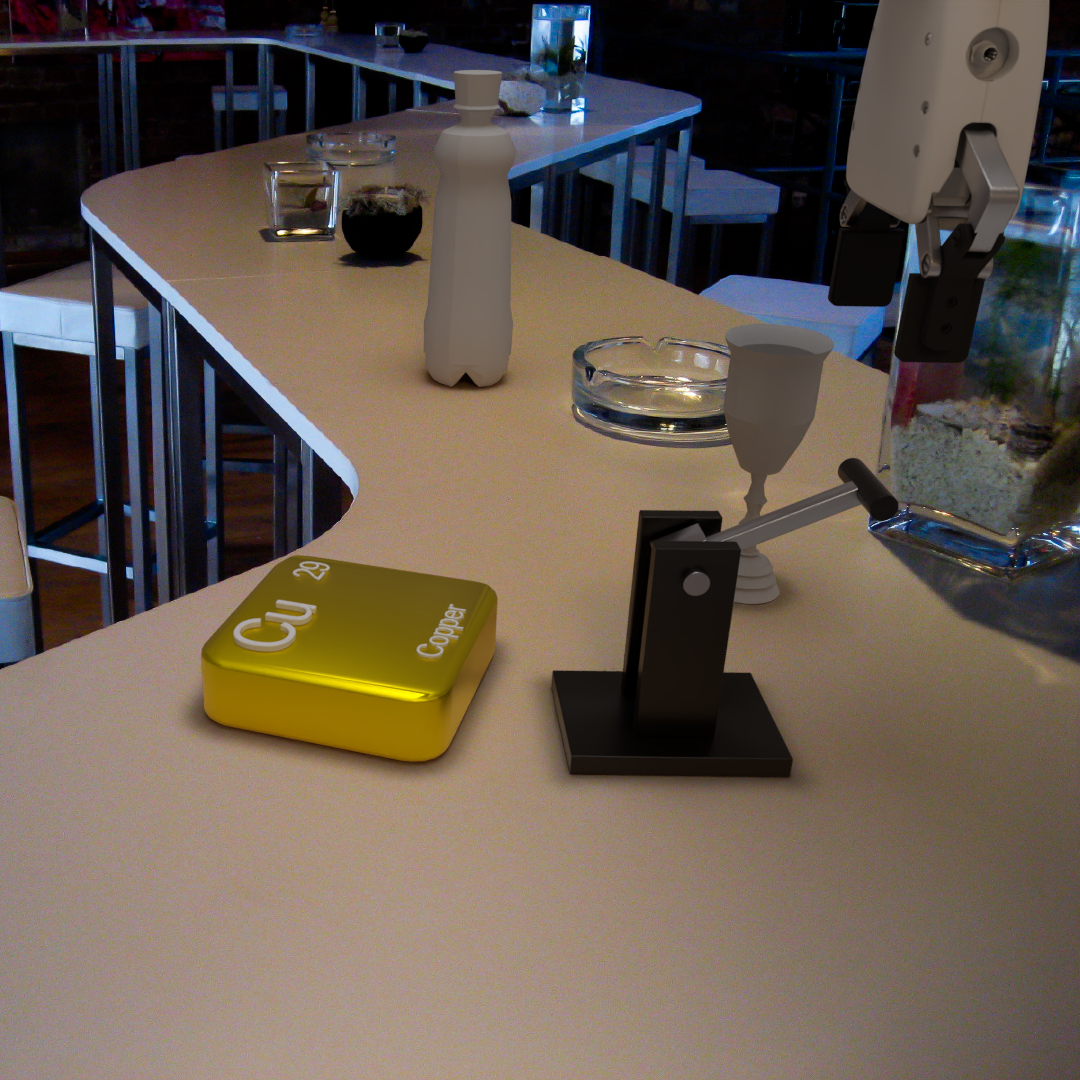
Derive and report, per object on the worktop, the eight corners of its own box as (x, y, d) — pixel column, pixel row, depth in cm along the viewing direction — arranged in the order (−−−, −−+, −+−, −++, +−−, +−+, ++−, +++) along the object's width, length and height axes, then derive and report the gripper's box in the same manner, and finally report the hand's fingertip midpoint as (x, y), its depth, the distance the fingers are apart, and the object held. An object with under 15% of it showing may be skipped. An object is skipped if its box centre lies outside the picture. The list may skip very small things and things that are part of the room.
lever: (869, 483, 69) (857, 445, 68) (904, 522, 64) (892, 483, 63) (658, 565, 71) (644, 529, 70) (677, 609, 67) (662, 572, 66)
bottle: (510, 392, 127) (527, 77, 115) (420, 389, 128) (427, 76, 115) (509, 365, 136) (525, 68, 123) (425, 362, 136) (432, 67, 124)
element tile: (439, 771, 69) (441, 697, 67) (191, 722, 74) (186, 651, 72) (501, 641, 82) (505, 576, 80) (287, 606, 87) (286, 543, 84)
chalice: (800, 615, 85) (844, 358, 78) (697, 607, 86) (730, 353, 79) (784, 567, 92) (824, 326, 84) (689, 560, 93) (719, 321, 85)
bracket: (748, 689, 77) (778, 496, 71) (790, 777, 69) (827, 567, 63) (551, 686, 77) (565, 494, 72) (569, 774, 69) (587, 565, 64)
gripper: (1160, -47, 47) (1049, 388, 55) (970, -50, 63) (903, 288, 70) (959, -49, 48) (875, 385, 55) (819, -52, 63) (768, 286, 71)
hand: (891, 330), depth 63 cm, fingers open, 9 cm apart
